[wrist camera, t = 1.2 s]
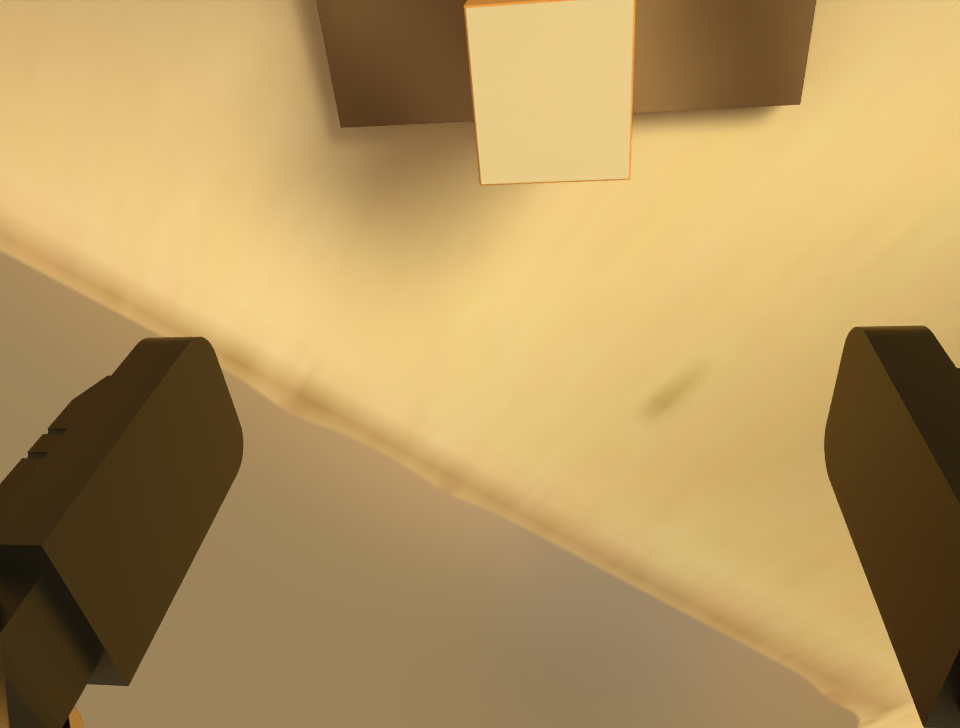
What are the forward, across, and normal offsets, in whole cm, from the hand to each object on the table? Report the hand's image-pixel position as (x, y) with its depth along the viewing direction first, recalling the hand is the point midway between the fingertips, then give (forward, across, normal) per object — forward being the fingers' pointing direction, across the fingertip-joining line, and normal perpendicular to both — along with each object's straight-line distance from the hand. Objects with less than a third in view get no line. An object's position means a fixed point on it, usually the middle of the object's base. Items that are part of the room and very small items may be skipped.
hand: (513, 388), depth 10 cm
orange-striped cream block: (+19, 0, 0) cm, 19 cm away
